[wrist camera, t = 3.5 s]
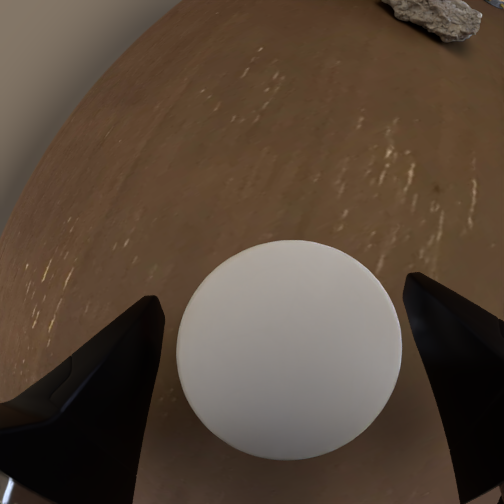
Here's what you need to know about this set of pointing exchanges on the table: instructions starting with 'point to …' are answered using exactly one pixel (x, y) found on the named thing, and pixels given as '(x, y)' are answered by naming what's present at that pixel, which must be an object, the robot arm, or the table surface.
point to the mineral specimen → (439, 17)
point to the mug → (496, 3)
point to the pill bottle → (289, 350)
